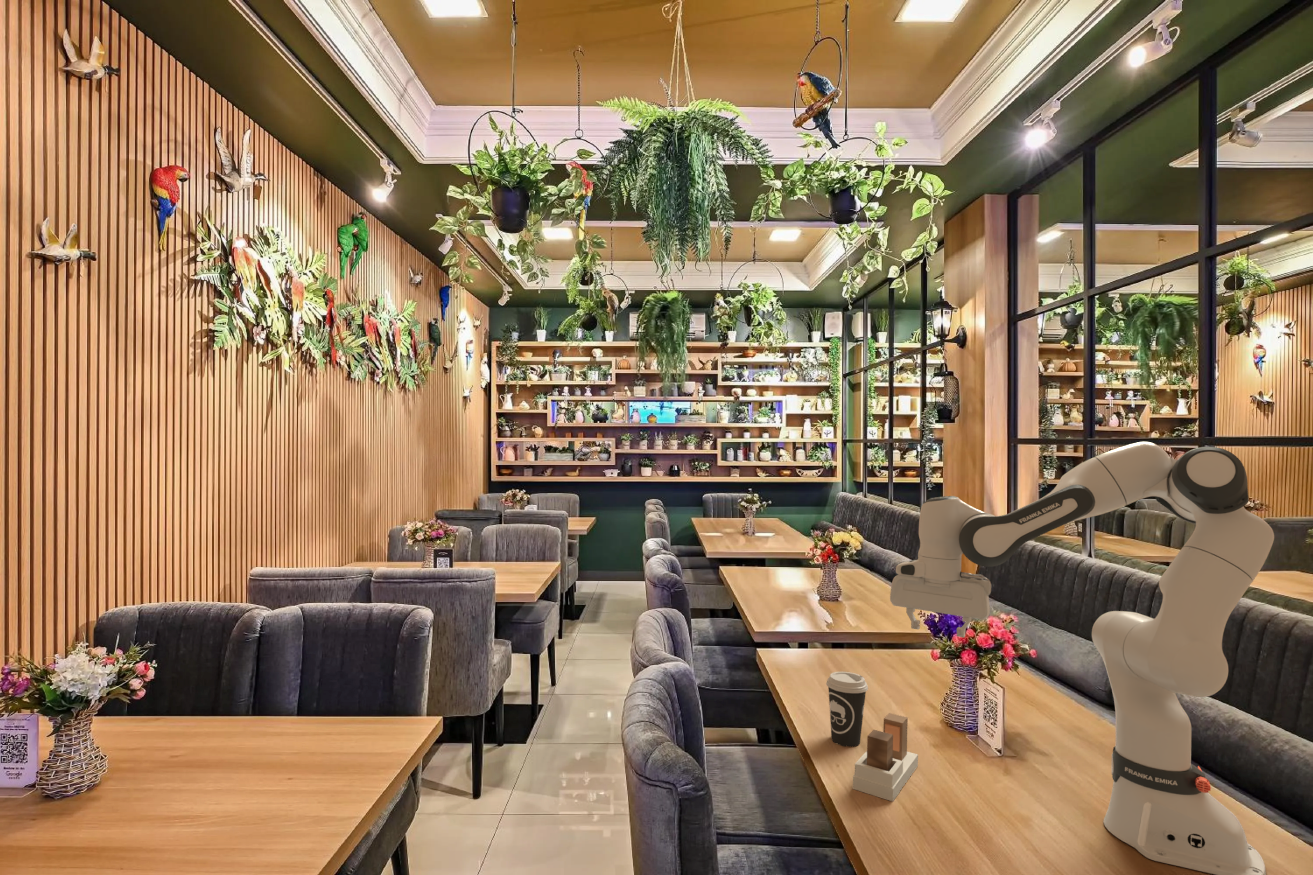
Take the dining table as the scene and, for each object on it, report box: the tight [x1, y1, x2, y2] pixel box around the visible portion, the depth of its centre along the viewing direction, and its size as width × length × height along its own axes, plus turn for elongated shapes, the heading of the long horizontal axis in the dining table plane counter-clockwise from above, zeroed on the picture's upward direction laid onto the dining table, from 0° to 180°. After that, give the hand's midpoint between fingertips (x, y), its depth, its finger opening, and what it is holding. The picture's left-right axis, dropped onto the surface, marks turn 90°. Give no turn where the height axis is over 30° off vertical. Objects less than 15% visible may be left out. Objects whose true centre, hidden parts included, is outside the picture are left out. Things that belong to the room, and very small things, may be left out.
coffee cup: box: [825, 671, 869, 748], centre depth 158 cm, size 10×10×15 cm
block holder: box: [852, 712, 919, 802], centre depth 141 cm, size 8×19×10 cm, turn 145°
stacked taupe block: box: [866, 729, 893, 771], centre depth 137 cm, size 4×5×8 cm
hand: (937, 632), depth 147 cm, fingers open, 8 cm apart
